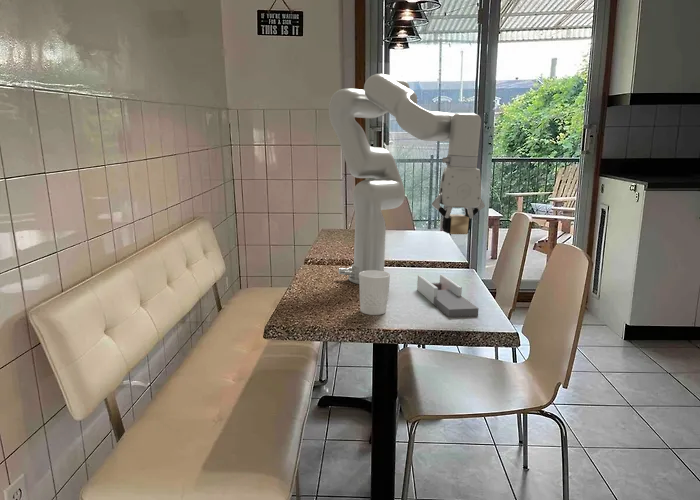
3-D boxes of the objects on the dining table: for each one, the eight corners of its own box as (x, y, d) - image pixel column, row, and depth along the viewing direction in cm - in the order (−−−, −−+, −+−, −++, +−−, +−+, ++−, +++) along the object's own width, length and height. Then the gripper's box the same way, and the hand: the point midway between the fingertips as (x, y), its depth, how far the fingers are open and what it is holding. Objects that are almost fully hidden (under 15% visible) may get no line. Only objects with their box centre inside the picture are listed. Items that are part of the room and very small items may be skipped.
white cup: (394, 311, 140) (396, 274, 138) (375, 318, 134) (376, 279, 132) (371, 304, 145) (372, 268, 143) (351, 311, 139) (352, 273, 137)
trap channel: (448, 317, 136) (449, 300, 136) (416, 289, 160) (417, 275, 159) (477, 315, 138) (479, 299, 137) (442, 289, 162) (443, 274, 161)
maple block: (451, 234, 139) (452, 217, 138) (445, 230, 144) (446, 214, 143) (467, 234, 140) (469, 217, 139) (460, 230, 145) (462, 214, 144)
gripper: (435, 162, 133) (430, 235, 137) (499, 164, 136) (491, 235, 140) (426, 160, 140) (420, 229, 144) (486, 162, 143) (479, 230, 147)
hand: (455, 231), depth 142 cm, fingers closed on maple block, 4 cm apart
